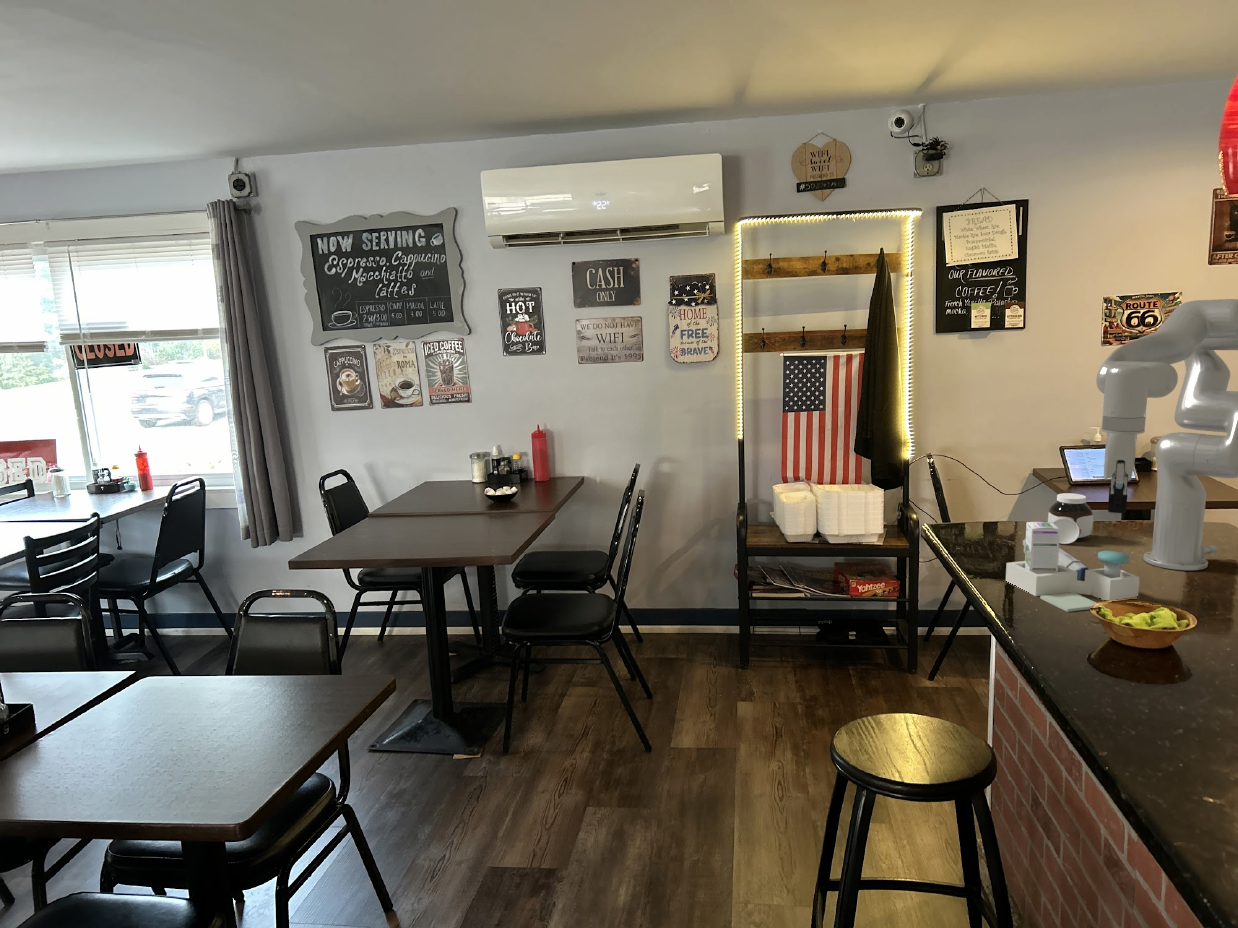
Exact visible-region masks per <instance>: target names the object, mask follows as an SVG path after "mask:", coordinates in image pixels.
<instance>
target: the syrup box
mask: <svg viewBox="0 0 1238 928" xmlns="http://www.w3.org/2000/svg"><path fill="white" fill-rule="evenodd" d="M1025 525H1026V528H1025V529H1026V530H1025V539H1026V547H1025V553H1024V561H1025V569H1027V570H1029V571H1032V572H1034V573H1036V574H1045V573H1055V572H1058V557H1059V548H1060V543H1059V531H1060V530H1059V528H1058V527H1057V526H1056V525H1055V524H1054V523H1052V522H1048V521H1026V524H1025Z"/></svg>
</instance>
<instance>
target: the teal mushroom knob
mask: <svg viewBox="0 0 1238 928" xmlns="http://www.w3.org/2000/svg"><path fill="white" fill-rule="evenodd" d="M1097 560H1098V561H1100V562H1103V563H1104V567H1103V568H1104V576H1107V577H1109V578H1118V577H1120V573H1121V570H1122V569H1121V568H1122V565H1126V564H1128V563H1129V560H1130V555H1129V554H1127V553H1125V552H1122V551H1121V552H1120V551H1114V550H1103V551H1102V550H1101V551H1099V552H1098V553H1097Z"/></svg>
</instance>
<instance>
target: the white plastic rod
mask: <svg viewBox="0 0 1238 928" xmlns="http://www.w3.org/2000/svg"><path fill="white" fill-rule="evenodd" d="M1022 545H1023V553H1024V554H1025V547H1026V538H1024V539H1023V540H1022ZM1058 564H1059V565H1062V566H1064V567H1066V568H1069V569H1071V570H1074V571H1076V572H1078V573H1077V580H1078V581H1085V570H1090V569H1089V568H1088V567H1087V566H1086V564H1085V563H1084V562H1083V561H1082V560H1081V559H1076V558H1075V557H1073V556H1072V555H1071V554H1069V553H1068V552H1066V551H1065V550H1063V549H1062V548H1060V547H1059V557H1058Z"/></svg>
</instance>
